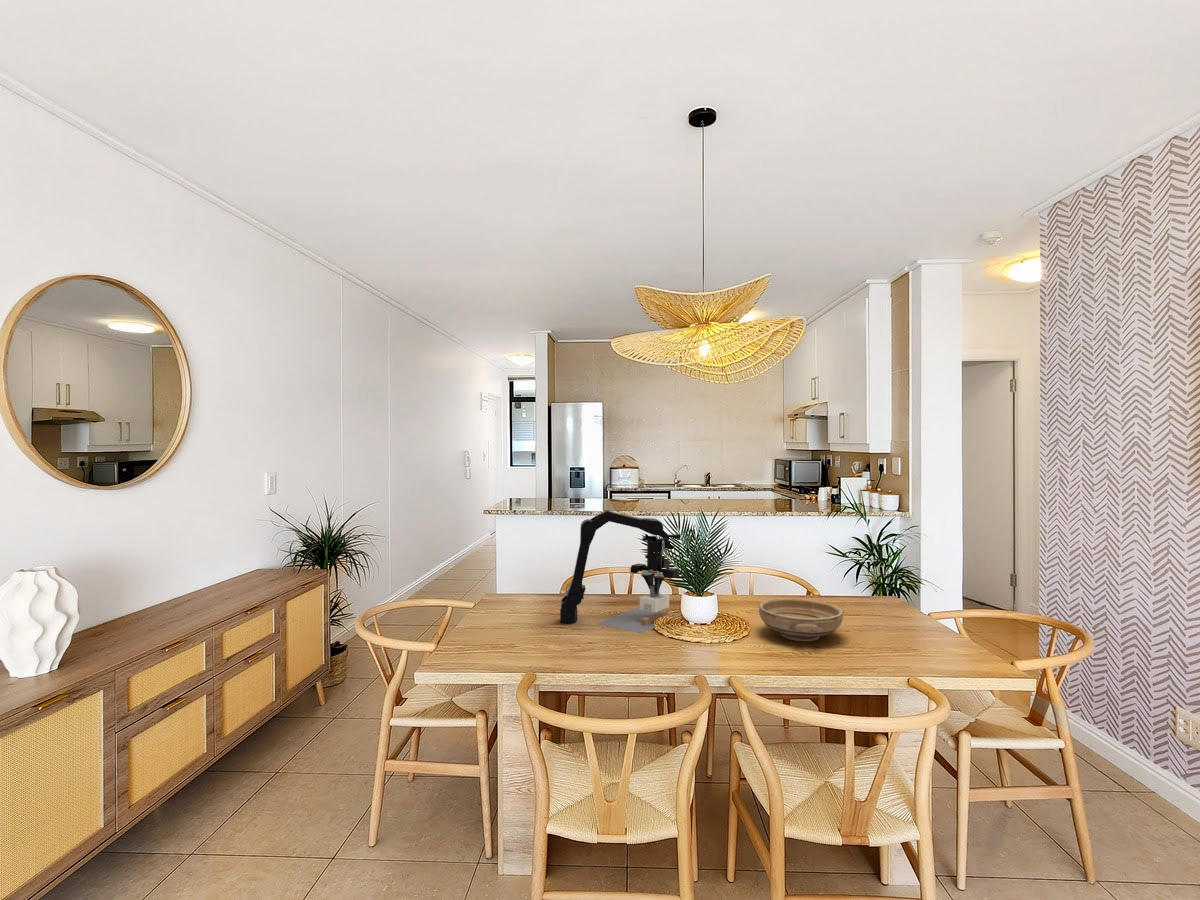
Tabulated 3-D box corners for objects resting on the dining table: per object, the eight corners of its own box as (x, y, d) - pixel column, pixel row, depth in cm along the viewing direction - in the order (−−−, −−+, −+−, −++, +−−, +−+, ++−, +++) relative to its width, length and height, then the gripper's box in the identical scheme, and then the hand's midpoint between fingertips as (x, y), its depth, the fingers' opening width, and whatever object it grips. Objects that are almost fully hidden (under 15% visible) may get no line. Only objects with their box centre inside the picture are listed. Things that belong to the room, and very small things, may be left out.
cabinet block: (655, 612, 227) (655, 589, 227) (639, 609, 231) (639, 586, 231) (669, 606, 235) (669, 584, 235) (653, 603, 239) (653, 582, 239)
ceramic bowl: (854, 655, 195) (854, 624, 195) (762, 650, 201) (762, 620, 201) (832, 623, 232) (832, 596, 232) (754, 619, 237) (754, 593, 237)
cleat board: (641, 636, 216) (641, 627, 216) (596, 626, 228) (596, 618, 228) (682, 617, 240) (682, 609, 240) (639, 609, 252) (639, 602, 252)
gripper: (686, 552, 234) (686, 592, 234) (645, 547, 245) (644, 586, 245) (672, 556, 225) (672, 598, 225) (629, 550, 236) (629, 591, 236)
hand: (654, 593), depth 233 cm, fingers closed on cabinet block
